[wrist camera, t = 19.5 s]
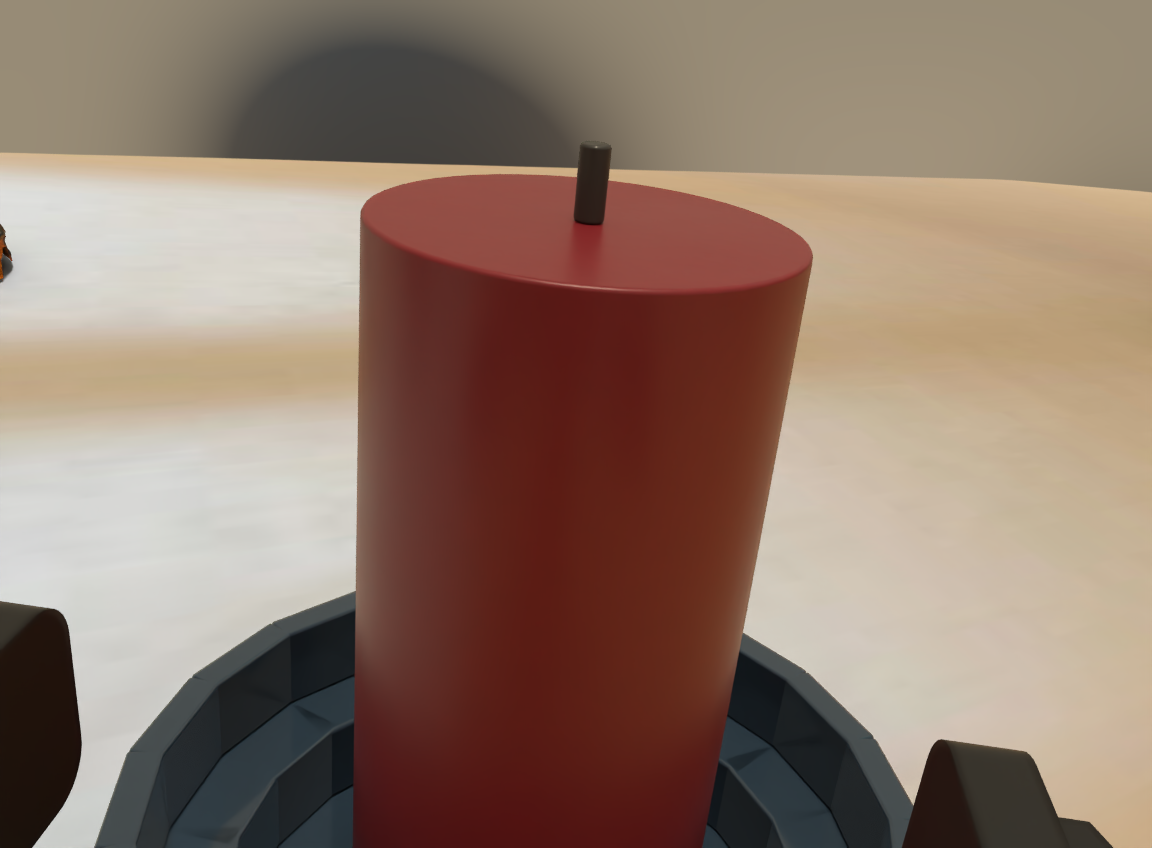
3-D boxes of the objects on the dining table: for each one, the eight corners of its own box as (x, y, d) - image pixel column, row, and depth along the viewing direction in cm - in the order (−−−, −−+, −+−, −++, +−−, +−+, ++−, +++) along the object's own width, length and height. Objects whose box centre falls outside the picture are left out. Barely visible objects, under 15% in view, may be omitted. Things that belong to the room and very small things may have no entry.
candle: (287, 919, 19) (270, 110, 13) (531, 777, 23) (598, 100, 17) (495, 1180, 15) (592, 218, 10) (744, 959, 19) (919, 175, 14)
